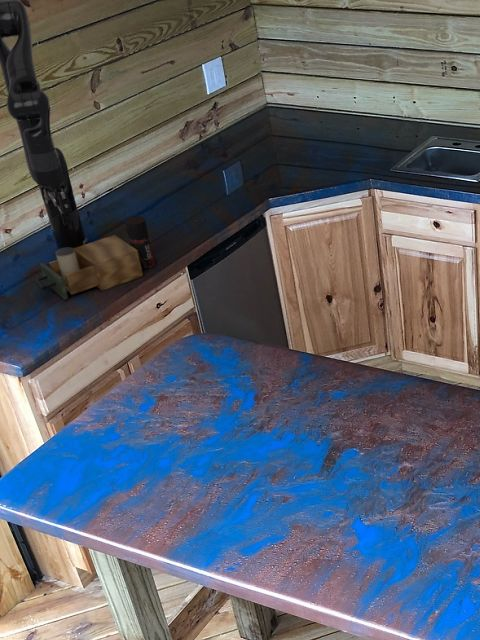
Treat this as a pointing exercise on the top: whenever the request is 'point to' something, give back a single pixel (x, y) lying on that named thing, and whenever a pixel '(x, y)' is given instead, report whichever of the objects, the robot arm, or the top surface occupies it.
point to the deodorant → (140, 240)
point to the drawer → (67, 278)
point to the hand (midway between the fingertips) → (61, 220)
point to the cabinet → (111, 261)
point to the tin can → (67, 261)
